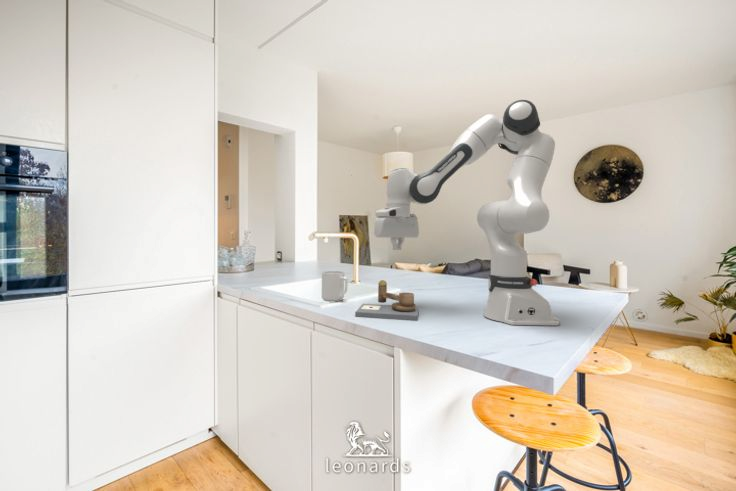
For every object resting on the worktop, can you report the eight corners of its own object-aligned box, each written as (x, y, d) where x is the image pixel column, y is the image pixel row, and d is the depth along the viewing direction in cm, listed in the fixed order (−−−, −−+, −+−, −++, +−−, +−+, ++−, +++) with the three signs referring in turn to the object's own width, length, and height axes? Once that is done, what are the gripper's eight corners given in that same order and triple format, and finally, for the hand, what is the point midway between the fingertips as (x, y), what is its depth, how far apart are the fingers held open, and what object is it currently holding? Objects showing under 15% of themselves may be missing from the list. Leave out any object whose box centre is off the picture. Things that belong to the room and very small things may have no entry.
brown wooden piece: (420, 309, 117) (421, 284, 117) (403, 312, 112) (404, 287, 112) (387, 300, 130) (387, 278, 129) (371, 303, 125) (371, 280, 124)
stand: (418, 311, 122) (418, 306, 122) (417, 320, 109) (417, 315, 109) (362, 307, 126) (362, 303, 125) (355, 316, 113) (355, 311, 113)
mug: (316, 299, 138) (317, 272, 138) (332, 296, 145) (333, 270, 144) (338, 304, 130) (338, 275, 130) (354, 300, 137) (354, 273, 137)
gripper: (411, 214, 138) (410, 248, 139) (372, 211, 125) (371, 249, 126) (423, 213, 133) (422, 249, 134) (383, 211, 120) (382, 251, 121)
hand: (397, 249), depth 130 cm, fingers closed
